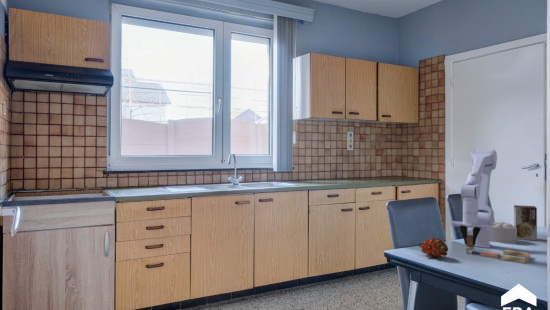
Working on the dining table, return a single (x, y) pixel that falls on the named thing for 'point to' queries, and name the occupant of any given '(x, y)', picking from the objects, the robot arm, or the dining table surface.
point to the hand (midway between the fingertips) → (469, 244)
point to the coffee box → (525, 222)
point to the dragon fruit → (434, 247)
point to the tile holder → (515, 259)
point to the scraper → (469, 244)
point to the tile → (489, 254)
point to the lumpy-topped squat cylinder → (503, 233)
